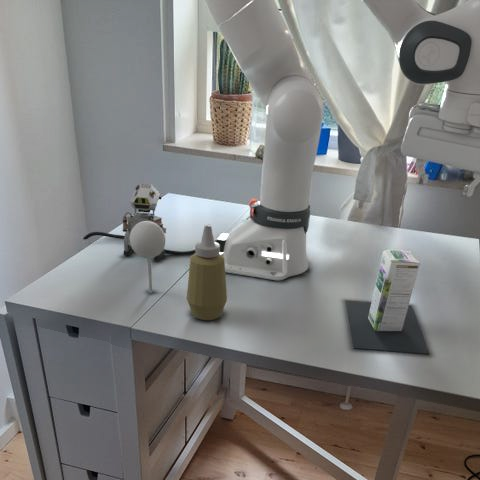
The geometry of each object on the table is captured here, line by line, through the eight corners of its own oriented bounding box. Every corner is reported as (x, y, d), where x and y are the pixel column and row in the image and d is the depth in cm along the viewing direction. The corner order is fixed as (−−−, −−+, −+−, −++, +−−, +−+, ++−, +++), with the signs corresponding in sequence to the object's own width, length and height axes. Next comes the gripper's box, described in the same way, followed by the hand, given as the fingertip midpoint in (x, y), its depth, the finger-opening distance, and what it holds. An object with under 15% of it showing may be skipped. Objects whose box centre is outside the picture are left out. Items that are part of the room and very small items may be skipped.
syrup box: (366, 318, 116) (381, 249, 107) (394, 318, 117) (411, 249, 108) (374, 331, 112) (390, 261, 103) (403, 332, 112) (421, 261, 103)
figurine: (173, 247, 141) (171, 184, 132) (156, 264, 132) (153, 198, 123) (138, 242, 143) (134, 180, 133) (120, 259, 134) (114, 193, 125)
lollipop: (172, 288, 123) (170, 219, 114) (158, 302, 118) (155, 230, 108) (143, 282, 125) (138, 213, 115) (128, 295, 119) (121, 224, 110)
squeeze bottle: (221, 326, 111) (224, 235, 100) (181, 320, 112) (180, 230, 101) (230, 308, 117) (234, 220, 106) (192, 302, 118) (192, 215, 107)
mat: (353, 348, 107) (354, 347, 107) (346, 301, 122) (346, 300, 122) (428, 354, 106) (428, 353, 106) (410, 306, 122) (411, 305, 122)
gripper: (404, 101, 104) (388, 180, 113) (515, 121, 95) (488, 206, 103) (419, 98, 108) (402, 175, 117) (527, 117, 99) (500, 199, 107)
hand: (443, 189), depth 110 cm, fingers open, 8 cm apart
